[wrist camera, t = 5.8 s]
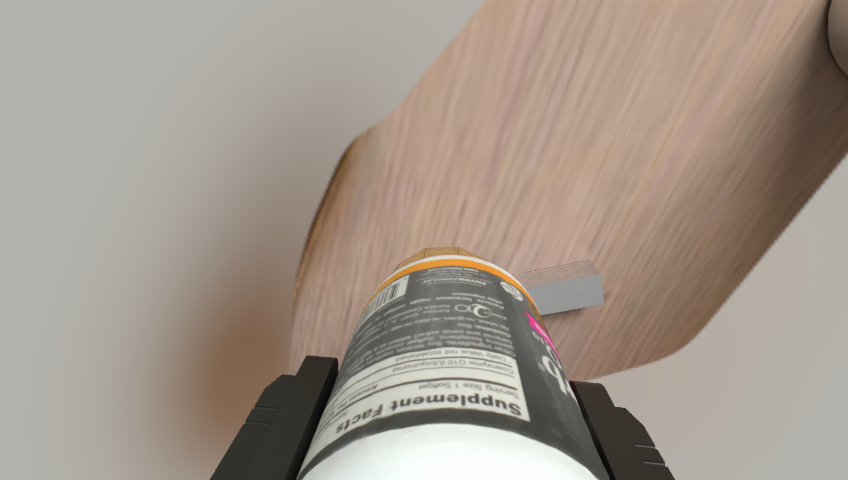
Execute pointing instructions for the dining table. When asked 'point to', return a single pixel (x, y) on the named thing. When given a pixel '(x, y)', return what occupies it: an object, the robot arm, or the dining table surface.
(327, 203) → the dining table surface
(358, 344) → the pill bottle
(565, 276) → the stand
